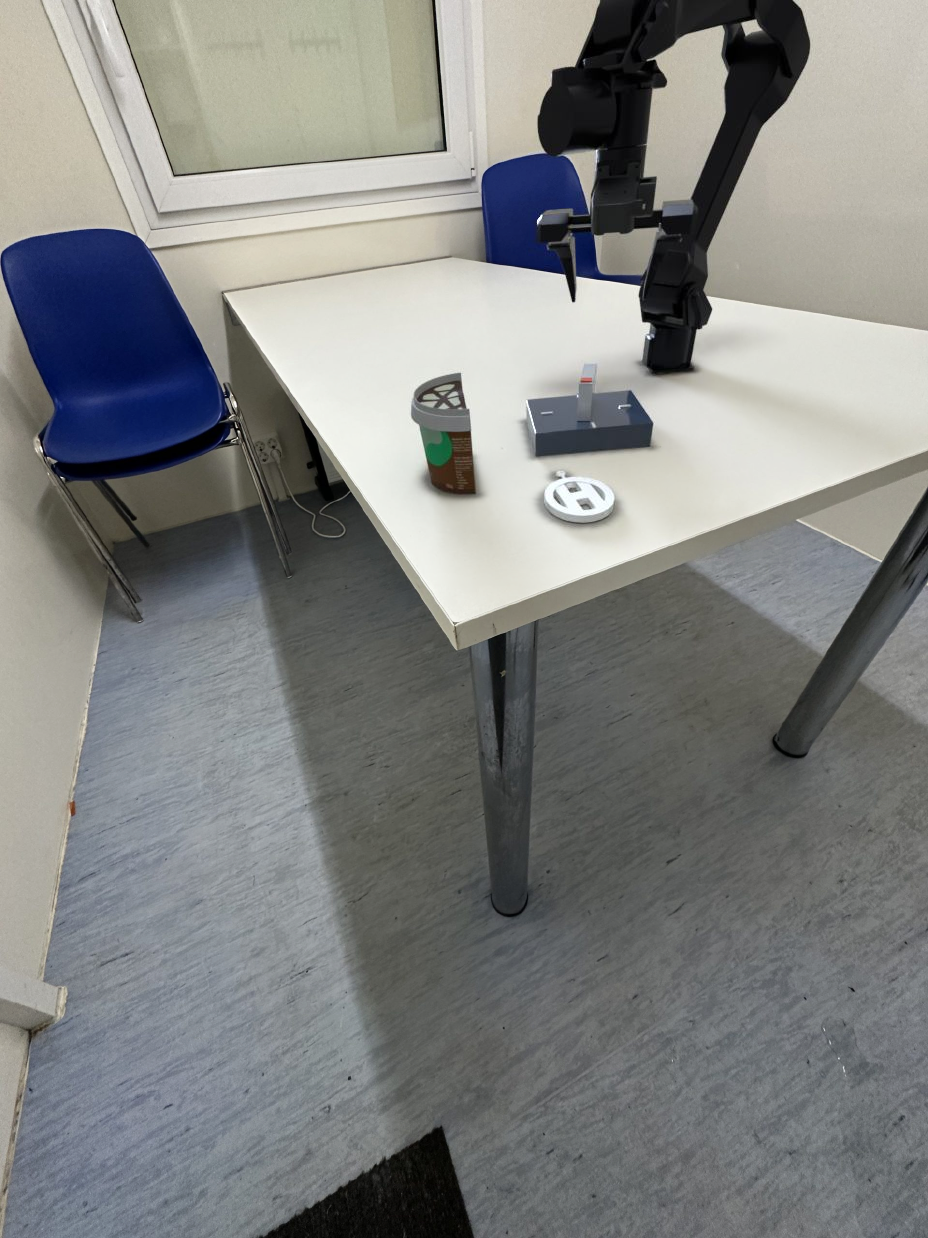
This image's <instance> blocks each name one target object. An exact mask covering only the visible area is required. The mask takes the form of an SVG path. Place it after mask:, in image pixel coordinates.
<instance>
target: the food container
mask: <svg viewBox="0 0 928 1238" xmlns="http://www.w3.org/2000/svg"><path fill="white" fill-rule="evenodd" d="M412 396H413V397H412V399H411V402H410V403H411V404H410V405H411V407H410V417H411V419H412V421H413V422H414V424H417V425H418V427H419V432H420V436H421V440H422V441H421V442H422V445H423V451H424V454H425V459H426V464H427V468H428V473H429V477H430V483H431V484H432V486H434V488H435V489H437V490H439V491H441V492H444V493H448V494H454V495H476V494H477V493H476V477H475V467H474V465H475V464H474V454H473V453H474V451H473V437H472V422H471V412H470V408H467V404H466V399H465V393H464V390H463V379H462V372H461V371H459V372H454V373H449V374H444V375H441V376H437V377H434V378H432V379H429V380H426V381H425V382H423V383H422V384H420V385H419V386H417V388H415V390H414V391H413V395H412Z"/></svg>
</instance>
